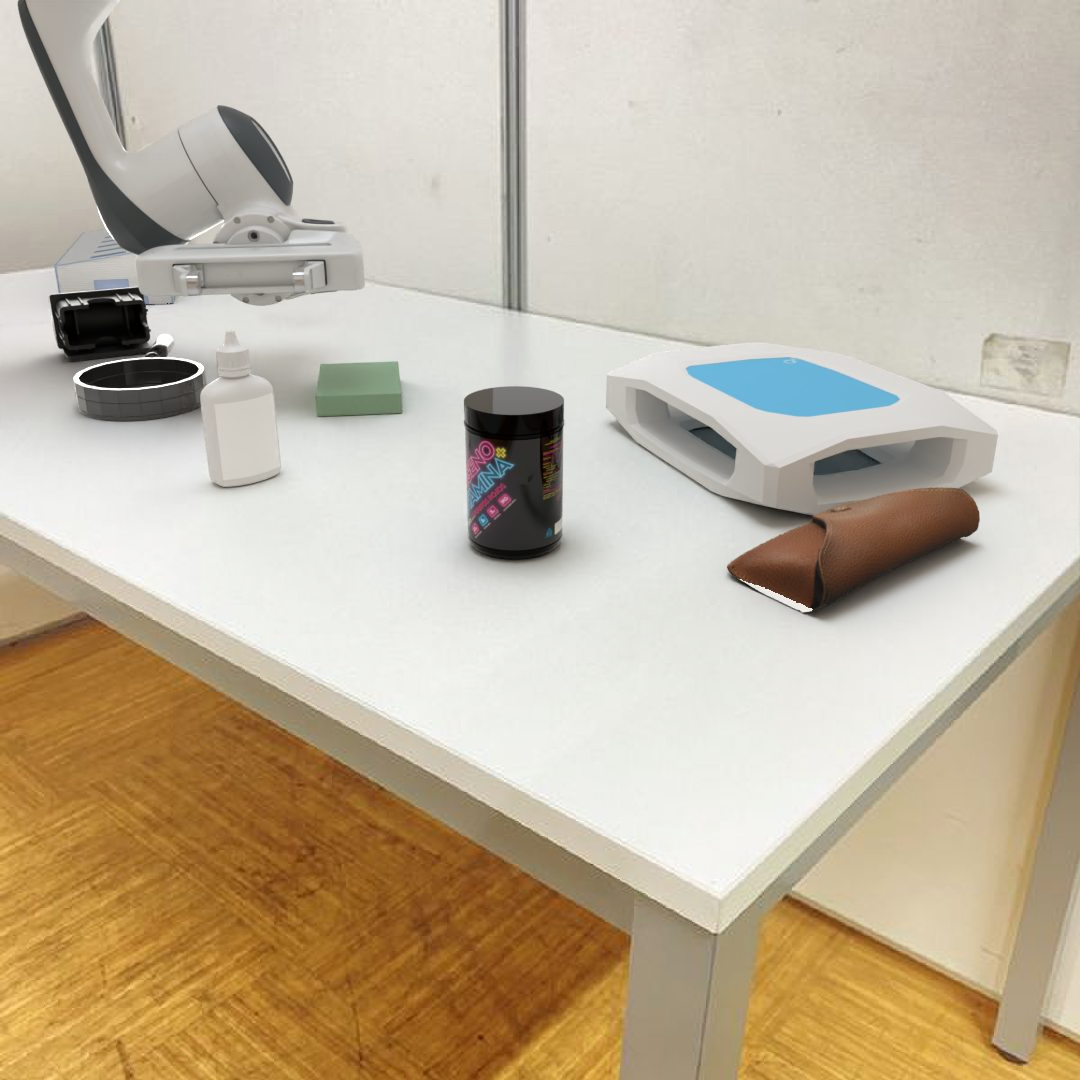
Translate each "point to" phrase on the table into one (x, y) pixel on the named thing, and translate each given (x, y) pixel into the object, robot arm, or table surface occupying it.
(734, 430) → the white step platform
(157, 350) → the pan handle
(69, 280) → the warehouse
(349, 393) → the block
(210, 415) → the eye dropper bottle
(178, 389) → the pan
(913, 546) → the sunglasses case
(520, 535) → the supplement container
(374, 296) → the table surface
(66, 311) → the end cap
